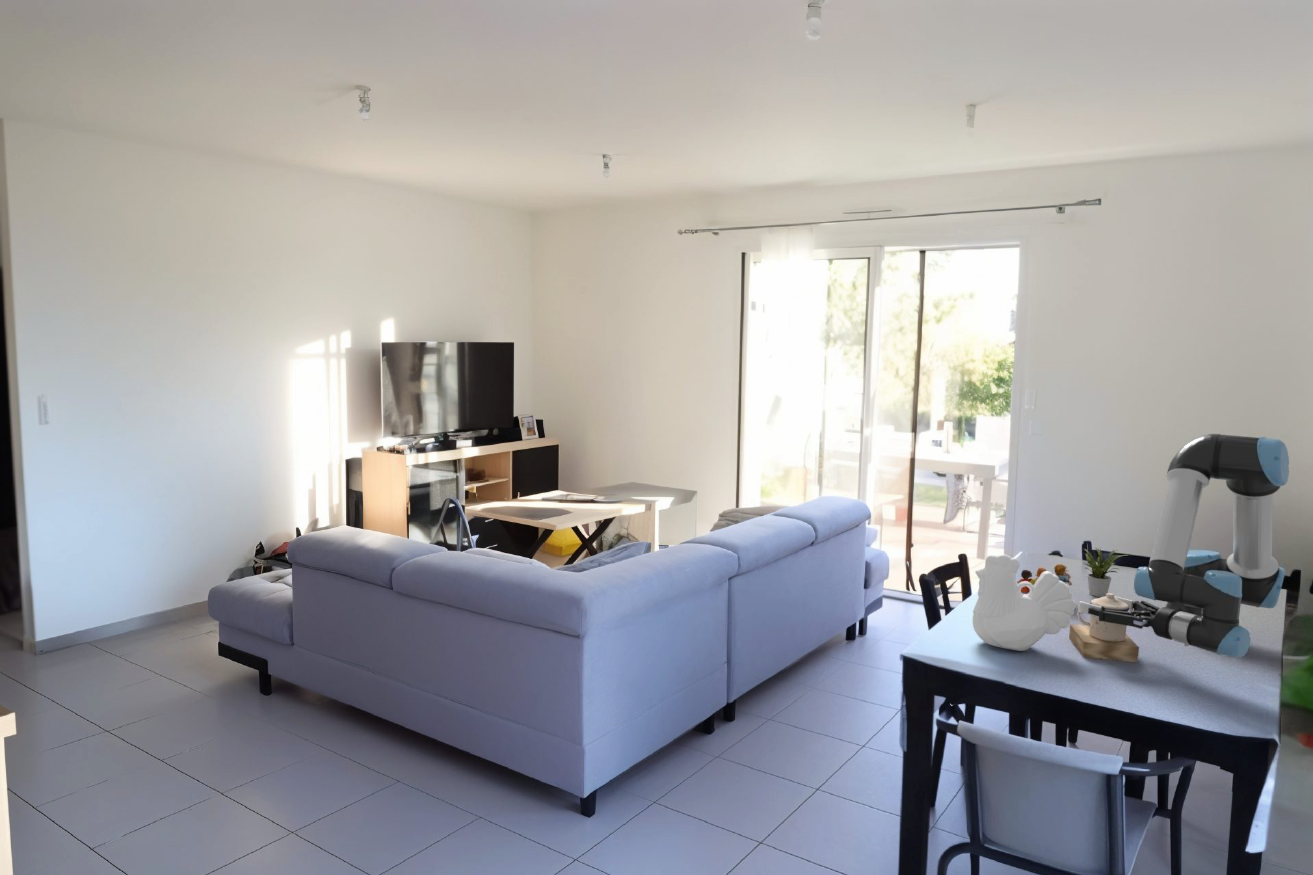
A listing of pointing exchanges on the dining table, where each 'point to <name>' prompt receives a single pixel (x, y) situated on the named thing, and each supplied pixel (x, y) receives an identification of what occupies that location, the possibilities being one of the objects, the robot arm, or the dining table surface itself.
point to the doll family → (1026, 574)
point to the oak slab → (1102, 646)
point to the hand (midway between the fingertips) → (1093, 602)
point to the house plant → (1099, 573)
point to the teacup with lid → (1107, 629)
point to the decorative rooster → (1018, 605)
